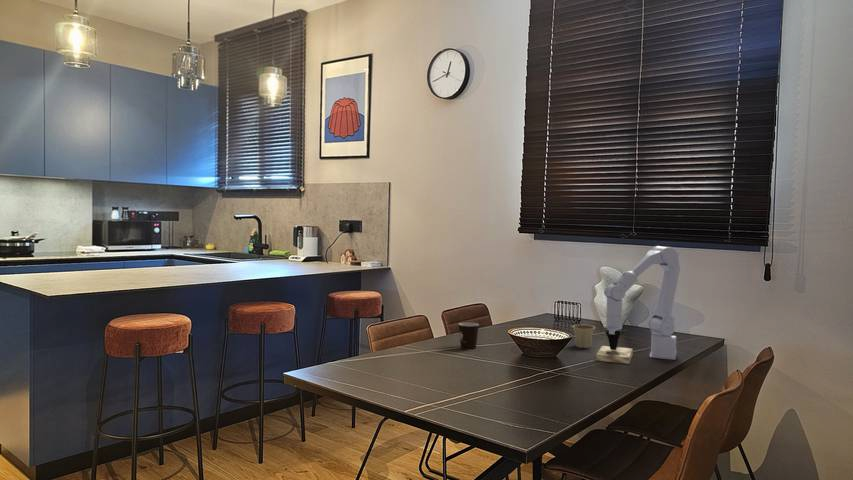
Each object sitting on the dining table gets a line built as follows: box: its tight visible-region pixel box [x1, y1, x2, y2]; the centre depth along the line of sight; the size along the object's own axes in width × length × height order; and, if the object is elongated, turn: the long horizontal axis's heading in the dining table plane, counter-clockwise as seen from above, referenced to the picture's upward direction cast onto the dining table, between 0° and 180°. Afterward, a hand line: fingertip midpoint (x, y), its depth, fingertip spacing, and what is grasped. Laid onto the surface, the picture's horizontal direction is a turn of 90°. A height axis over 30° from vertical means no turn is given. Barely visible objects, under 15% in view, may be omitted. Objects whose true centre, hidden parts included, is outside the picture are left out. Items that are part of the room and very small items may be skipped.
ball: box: [610, 350, 619, 355], centre depth 229 cm, size 4×4×4 cm
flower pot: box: [571, 324, 596, 349], centre depth 251 cm, size 9×9×9 cm
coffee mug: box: [457, 322, 480, 350], centre depth 248 cm, size 12×9×10 cm
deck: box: [595, 345, 634, 364], centre depth 232 cm, size 12×17×2 cm
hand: (613, 349), depth 231 cm, fingers closed
